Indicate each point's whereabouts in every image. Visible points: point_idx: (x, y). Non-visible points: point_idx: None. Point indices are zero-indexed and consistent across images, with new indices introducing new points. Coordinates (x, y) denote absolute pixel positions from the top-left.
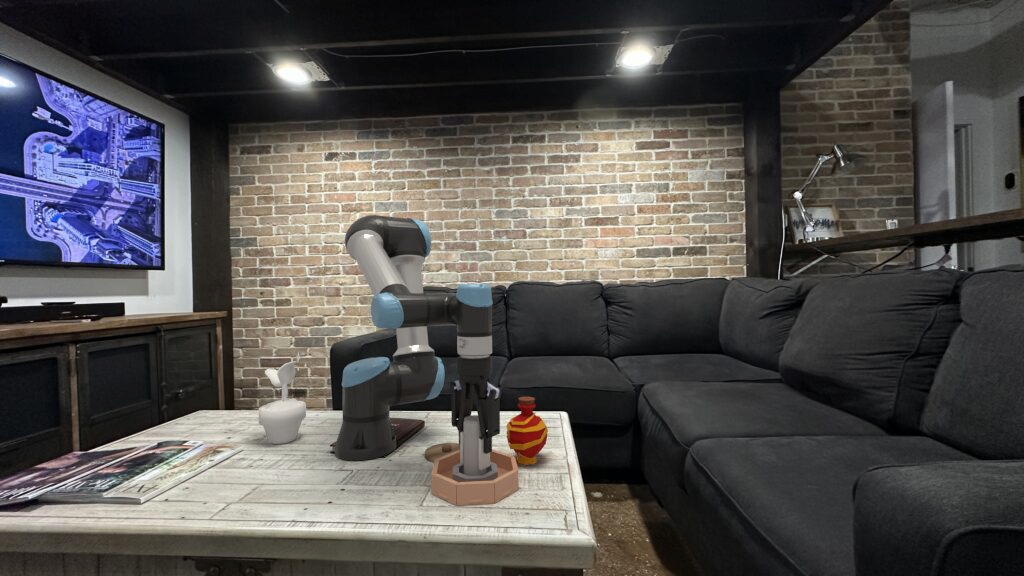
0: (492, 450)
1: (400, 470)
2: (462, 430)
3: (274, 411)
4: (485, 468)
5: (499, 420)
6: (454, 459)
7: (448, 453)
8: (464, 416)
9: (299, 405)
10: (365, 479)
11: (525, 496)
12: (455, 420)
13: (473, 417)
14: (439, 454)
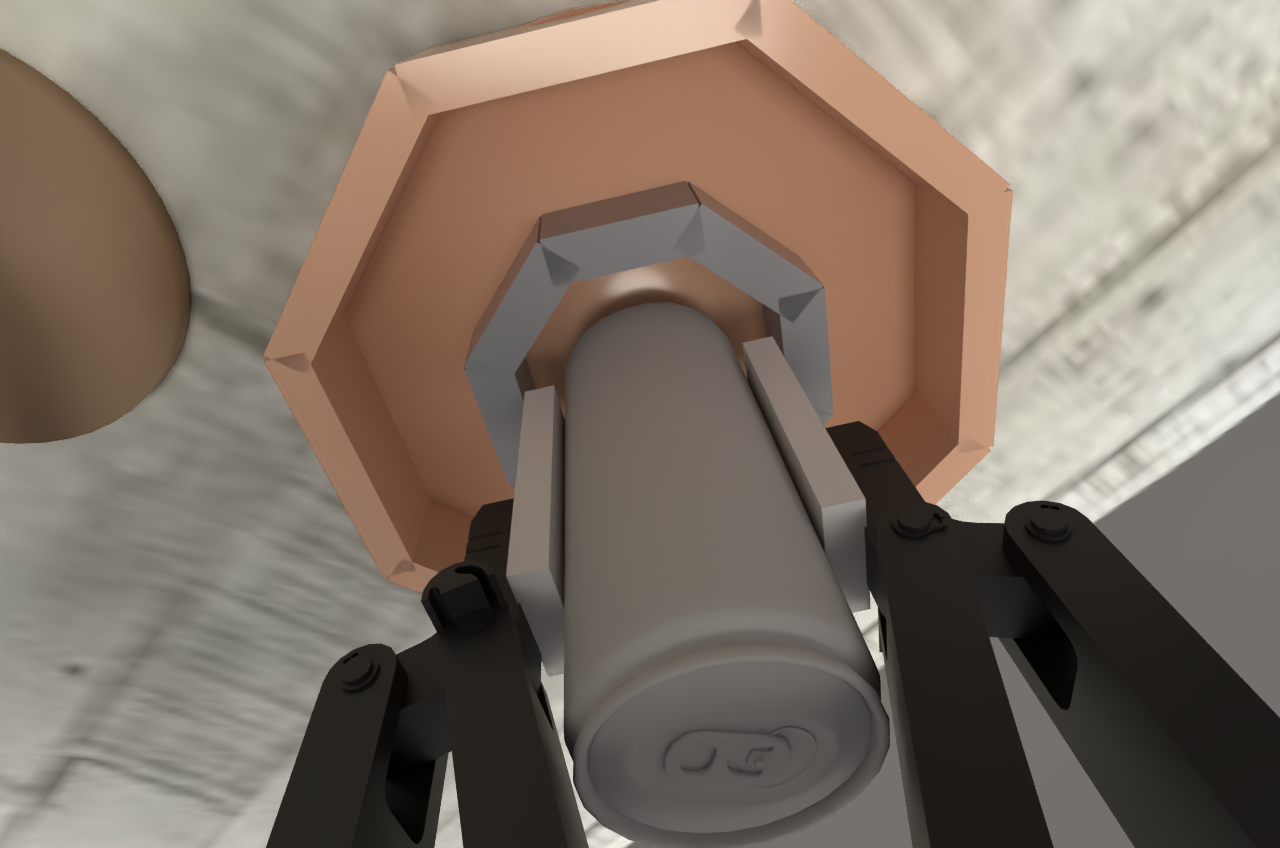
0: (452, 82)
1: (185, 599)
2: (537, 663)
3: None
4: (730, 347)
5: (1202, 646)
6: (357, 408)
7: (28, 283)
8: (580, 834)
9: None
10: (236, 736)
11: (1034, 175)
12: (437, 797)
13: (651, 742)
14: (28, 355)
